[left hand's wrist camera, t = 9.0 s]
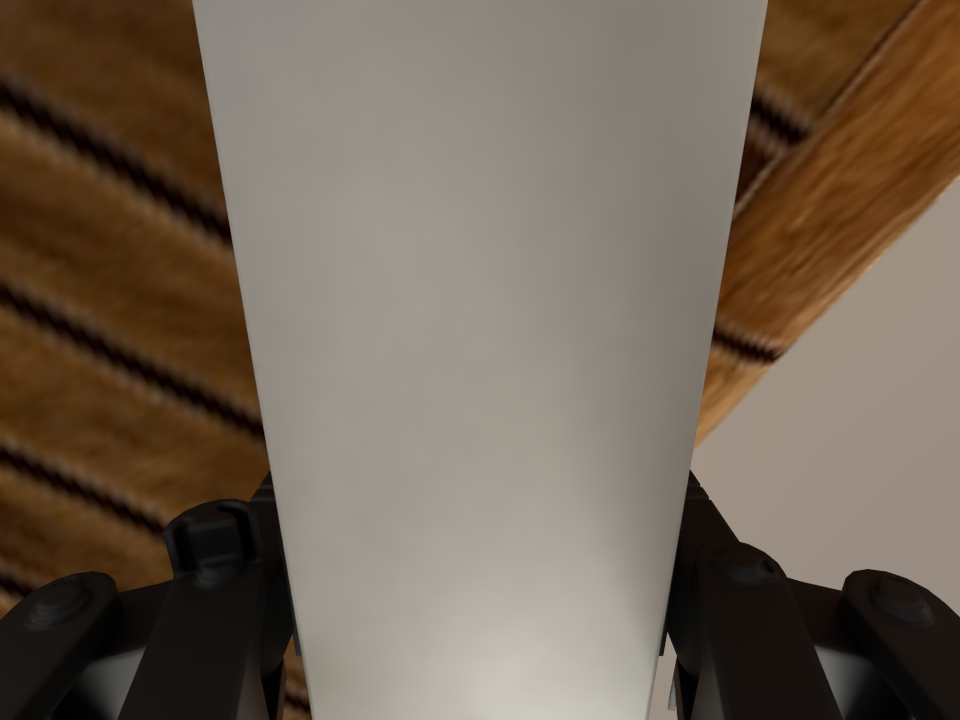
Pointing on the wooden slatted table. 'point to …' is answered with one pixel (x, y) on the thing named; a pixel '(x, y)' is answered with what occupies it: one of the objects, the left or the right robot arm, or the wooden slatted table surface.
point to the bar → (480, 328)
